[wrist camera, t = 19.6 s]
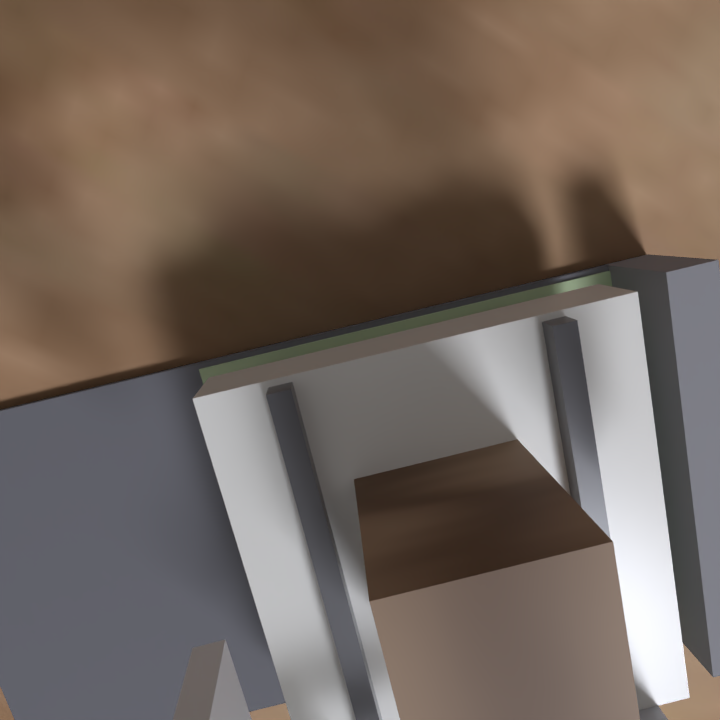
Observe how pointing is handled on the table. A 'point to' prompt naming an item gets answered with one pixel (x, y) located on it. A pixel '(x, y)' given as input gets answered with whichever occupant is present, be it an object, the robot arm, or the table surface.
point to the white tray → (429, 442)
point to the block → (493, 592)
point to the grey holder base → (213, 528)
